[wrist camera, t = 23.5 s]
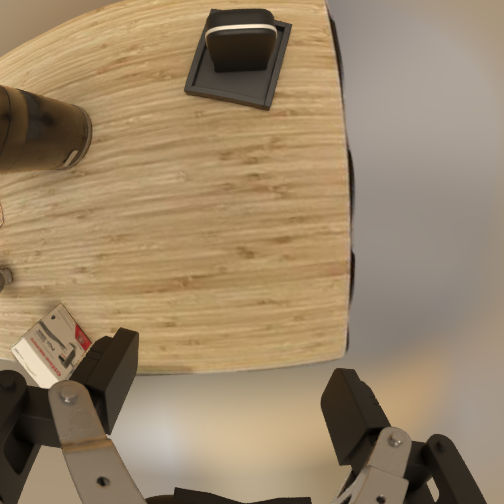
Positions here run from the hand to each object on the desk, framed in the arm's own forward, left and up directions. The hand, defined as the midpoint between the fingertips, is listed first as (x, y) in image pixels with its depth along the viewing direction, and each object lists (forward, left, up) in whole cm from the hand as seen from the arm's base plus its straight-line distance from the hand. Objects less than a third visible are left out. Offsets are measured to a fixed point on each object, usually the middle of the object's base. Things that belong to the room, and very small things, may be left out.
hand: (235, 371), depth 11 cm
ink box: (-24, -22, -28) cm, 43 cm away
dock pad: (-5, +22, -28) cm, 36 cm away
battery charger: (-5, +22, -28) cm, 36 cm away
